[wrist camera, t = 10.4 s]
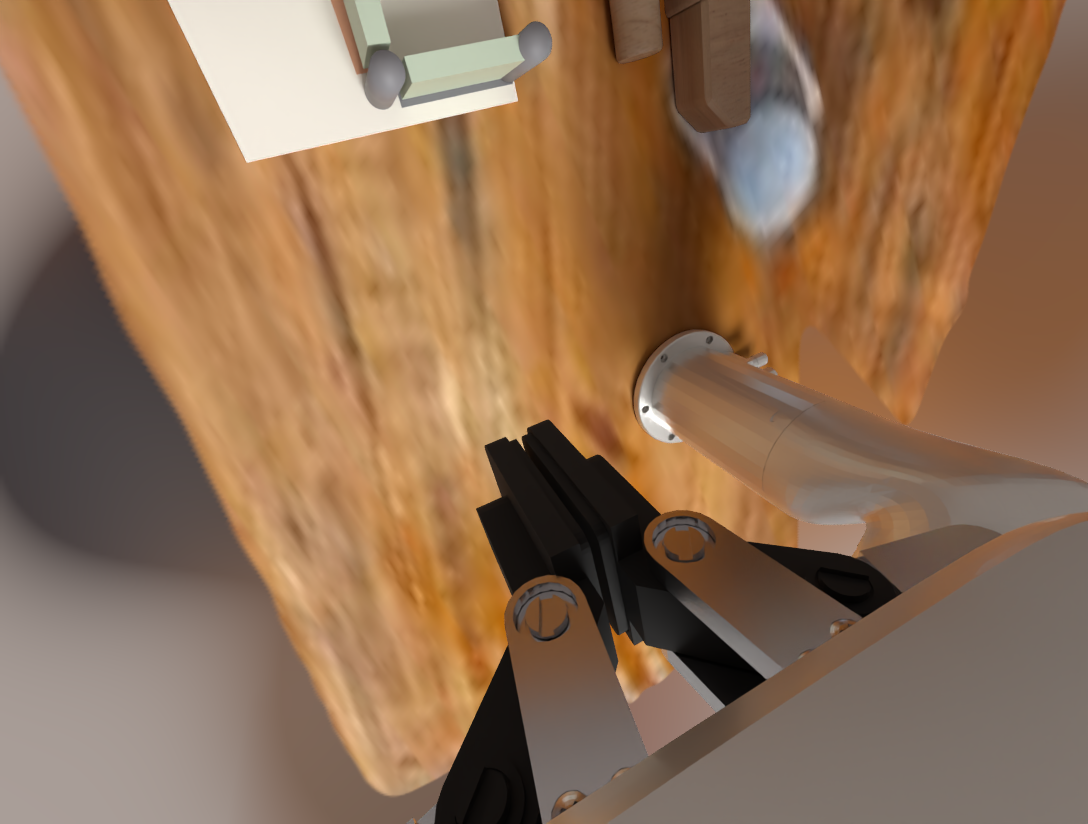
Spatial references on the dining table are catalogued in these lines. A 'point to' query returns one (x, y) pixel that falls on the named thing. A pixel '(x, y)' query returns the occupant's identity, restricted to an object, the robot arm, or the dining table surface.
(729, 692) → the robot arm
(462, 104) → the card
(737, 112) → the wooden block set
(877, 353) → the dining table surface
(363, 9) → the hinged fence panel
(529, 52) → the fixed fence panel
